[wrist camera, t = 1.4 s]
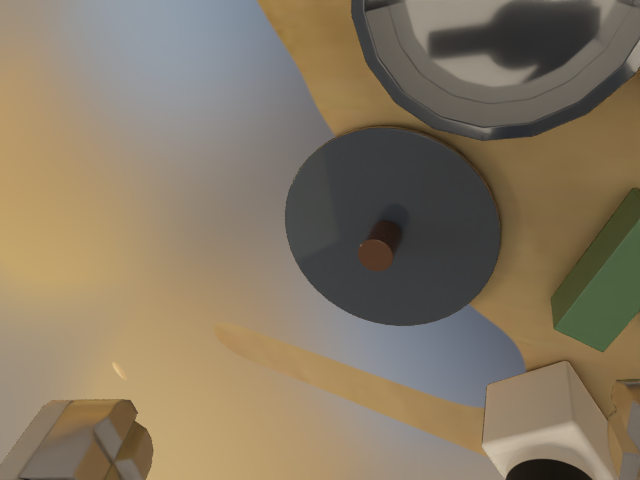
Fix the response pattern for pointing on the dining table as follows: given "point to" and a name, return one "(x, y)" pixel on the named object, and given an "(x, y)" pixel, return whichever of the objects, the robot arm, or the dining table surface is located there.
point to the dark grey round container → (499, 59)
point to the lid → (393, 225)
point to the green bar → (603, 282)
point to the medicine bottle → (546, 427)
